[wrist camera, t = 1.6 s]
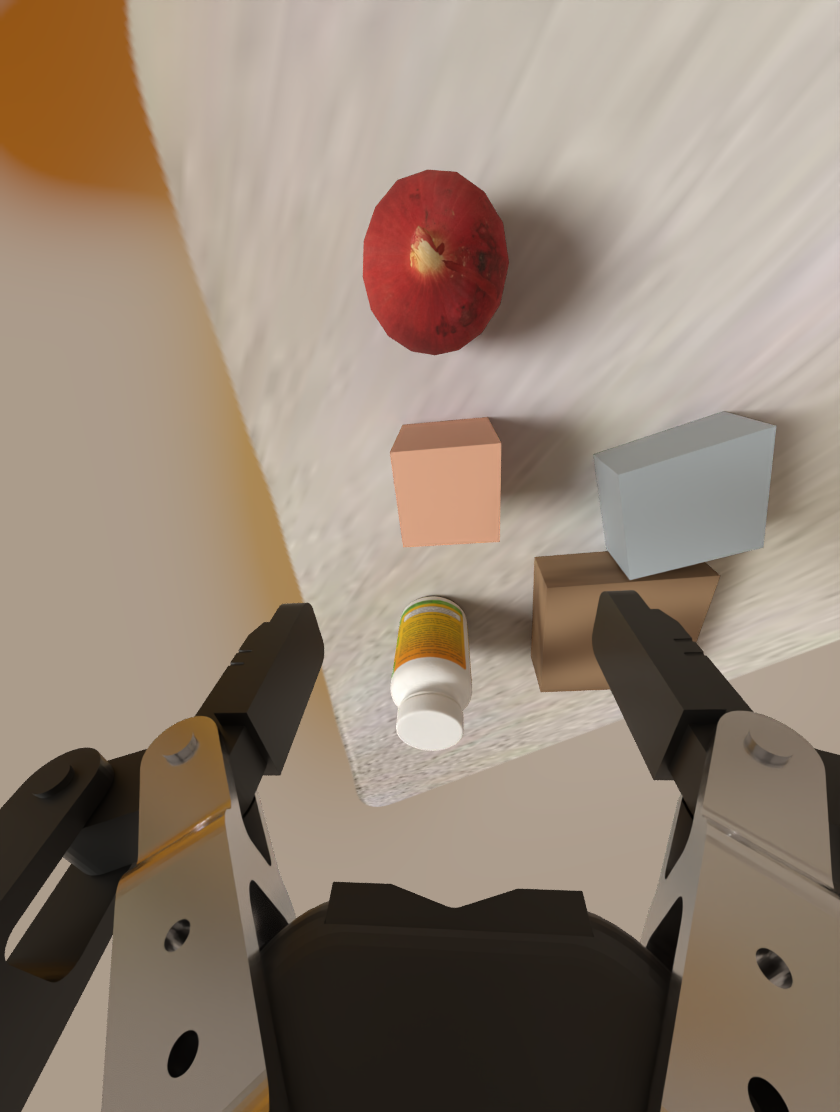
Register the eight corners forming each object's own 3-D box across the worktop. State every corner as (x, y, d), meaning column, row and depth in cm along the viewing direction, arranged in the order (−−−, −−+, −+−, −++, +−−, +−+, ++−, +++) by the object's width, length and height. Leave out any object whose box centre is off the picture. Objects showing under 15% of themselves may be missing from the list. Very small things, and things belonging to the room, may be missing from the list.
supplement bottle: (389, 605, 29) (367, 714, 21) (452, 585, 27) (456, 694, 19) (416, 650, 31) (406, 764, 23) (475, 634, 30) (487, 749, 22)
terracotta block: (402, 424, 22) (389, 452, 16) (487, 416, 21) (501, 443, 16) (411, 502, 24) (403, 547, 19) (487, 497, 24) (499, 541, 19)
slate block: (591, 453, 22) (618, 475, 19) (721, 410, 20) (776, 425, 17) (605, 547, 25) (629, 580, 22) (717, 516, 24) (763, 547, 20)
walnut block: (533, 554, 26) (547, 588, 23) (682, 542, 25) (720, 575, 21) (530, 652, 31) (540, 692, 28) (653, 646, 30) (680, 686, 27)
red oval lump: (509, 215, 16) (554, 132, 10) (481, 358, 19) (501, 371, 13) (382, 195, 16) (337, 97, 10) (374, 342, 19) (336, 347, 13)
